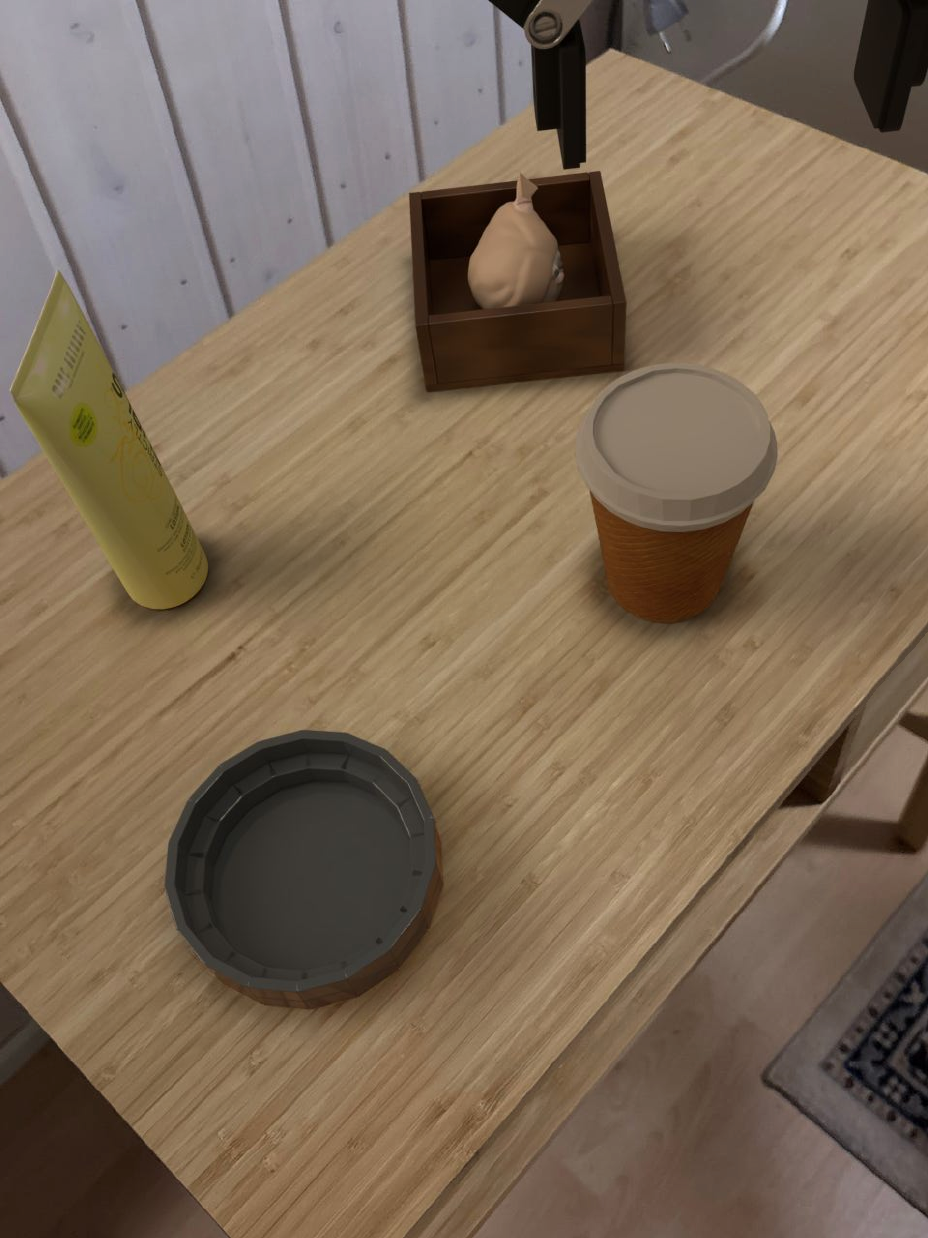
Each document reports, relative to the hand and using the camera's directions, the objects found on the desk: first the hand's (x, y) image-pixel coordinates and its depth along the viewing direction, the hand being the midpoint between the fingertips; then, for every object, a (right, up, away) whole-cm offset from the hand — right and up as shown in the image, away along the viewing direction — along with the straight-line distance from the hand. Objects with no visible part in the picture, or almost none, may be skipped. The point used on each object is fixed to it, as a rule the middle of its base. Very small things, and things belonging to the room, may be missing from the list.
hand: (721, 124), depth 36 cm
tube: (-25, -13, +31) cm, 42 cm away
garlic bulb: (-5, +5, +39) cm, 40 cm away
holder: (-5, +5, +40) cm, 40 cm away
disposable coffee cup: (+3, -13, +27) cm, 31 cm away
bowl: (-15, -28, +20) cm, 38 cm away
